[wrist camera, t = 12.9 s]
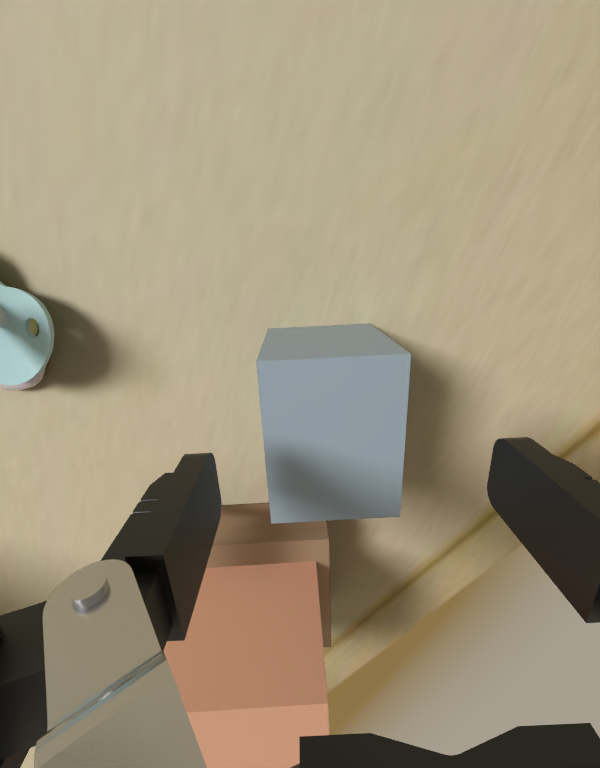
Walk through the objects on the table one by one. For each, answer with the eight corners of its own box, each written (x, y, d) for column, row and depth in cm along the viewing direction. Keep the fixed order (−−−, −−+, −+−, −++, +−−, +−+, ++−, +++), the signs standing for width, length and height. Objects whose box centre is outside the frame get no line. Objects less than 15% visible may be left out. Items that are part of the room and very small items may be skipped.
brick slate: (366, 440, 19) (400, 516, 13) (276, 445, 19) (271, 523, 13) (369, 323, 16) (411, 353, 11) (267, 328, 16) (256, 361, 11)
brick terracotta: (204, 635, 19) (168, 792, 13) (190, 569, 17) (142, 715, 12) (319, 628, 19) (331, 781, 13) (315, 560, 17) (327, 703, 12)
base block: (206, 605, 22) (194, 654, 20) (187, 507, 20) (170, 547, 17) (326, 598, 22) (331, 646, 20) (323, 500, 20) (328, 539, 17)
